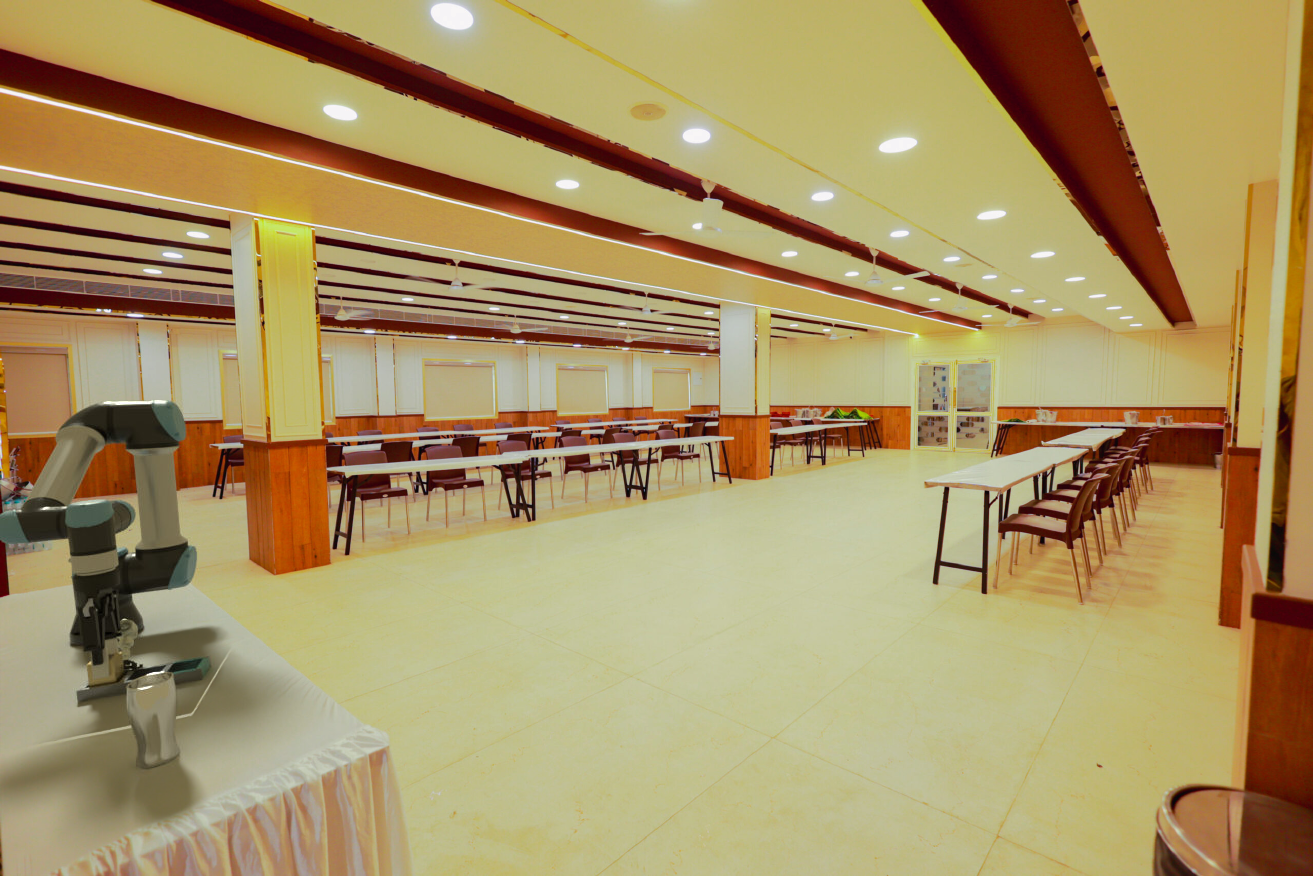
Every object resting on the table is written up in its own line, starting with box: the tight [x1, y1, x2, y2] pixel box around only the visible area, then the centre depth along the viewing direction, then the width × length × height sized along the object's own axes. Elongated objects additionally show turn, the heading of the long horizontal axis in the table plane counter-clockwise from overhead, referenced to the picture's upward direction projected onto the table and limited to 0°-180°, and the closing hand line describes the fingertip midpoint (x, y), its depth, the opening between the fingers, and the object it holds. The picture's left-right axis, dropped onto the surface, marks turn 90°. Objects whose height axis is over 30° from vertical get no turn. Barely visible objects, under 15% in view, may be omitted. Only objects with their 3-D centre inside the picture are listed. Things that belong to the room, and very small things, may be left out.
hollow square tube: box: [86, 652, 125, 687], centre depth 133 cm, size 5×5×8 cm
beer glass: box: [126, 672, 180, 770], centre depth 109 cm, size 7×7×15 cm
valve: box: [117, 619, 144, 671], centre depth 142 cm, size 7×7×12 cm
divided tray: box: [75, 656, 211, 703], centre depth 137 cm, size 7×22×3 cm, turn 114°
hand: (106, 672), depth 133 cm, fingers closed on hollow square tube, 5 cm apart
